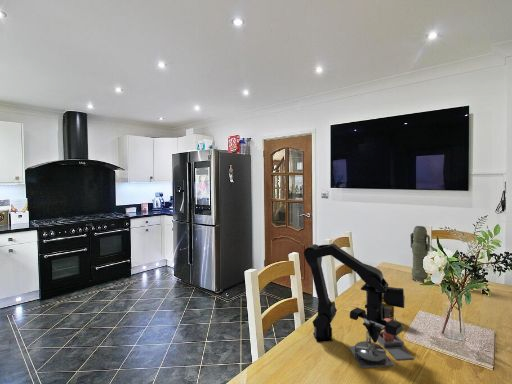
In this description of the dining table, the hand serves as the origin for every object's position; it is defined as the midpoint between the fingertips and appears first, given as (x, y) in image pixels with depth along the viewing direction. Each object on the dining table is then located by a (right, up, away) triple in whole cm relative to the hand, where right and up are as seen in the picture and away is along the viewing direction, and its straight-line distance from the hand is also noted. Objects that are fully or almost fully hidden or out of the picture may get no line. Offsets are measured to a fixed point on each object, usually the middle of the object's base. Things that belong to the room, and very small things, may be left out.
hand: (375, 342), depth 109 cm
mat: (+9, -4, -1) cm, 10 cm away
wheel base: (-3, -4, -2) cm, 5 cm away
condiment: (+15, -3, +25) cm, 30 cm away
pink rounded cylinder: (+9, -4, +7) cm, 12 cm away
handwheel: (-3, -3, -2) cm, 4 cm away
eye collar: (+9, -4, +7) cm, 12 cm away
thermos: (+61, 0, +75) cm, 96 cm away
